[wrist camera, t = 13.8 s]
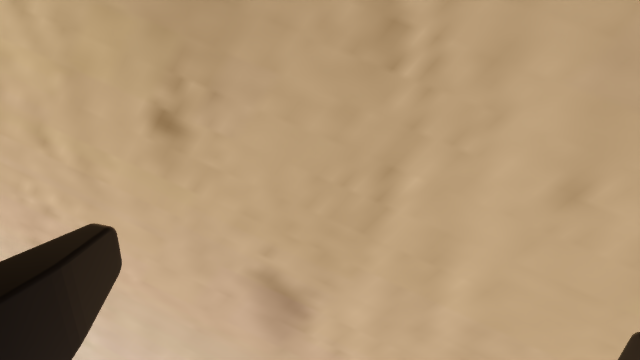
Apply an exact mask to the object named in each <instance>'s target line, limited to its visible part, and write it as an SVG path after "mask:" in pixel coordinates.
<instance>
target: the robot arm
mask: <svg viewBox="0 0 640 360" xmlns="http://www.w3.org/2000/svg"><path fill="white" fill-rule="evenodd" d="M121 266H122V259H121V254H120V248H119V243H118V237H117V233H116V231H115V229H114V228H112V227H110V226H106V225H101V224H89V225H86V226H84V227H82V228H79V229H77V230H75V231H72V232H70V233H67V234H65V235H63V236H60V237H58V238H56V239H53V240H51V241H48V242H46V243H44V244H41V245H39V246H37V247H34V248H32V249H29V250H27V251H25V252H22V253H20V254H17V255H15V256H13V257H10V258H8V259H6V260H3V261H1V262H0V360H72V358H73V357H74V355H75V354H76V352H77V351H78V349H79V347H80V346H81V344H82V343H83V341H84V339H85V337H86V335H87V334H88V332H89V330H90V328H91V326H92V324H93V322H94V321H95V319H96V317H97V315H98V313H99V311H100V309H101V307H102V305H103V304H104V302H105V300H106V298H107V296H108V294H109V292H110V290H111V288H112V286H113V285H114V283H115V281H116V279H117V277H118V275H119V273H120V270H121ZM618 360H640V332H637V333H635V334H633V335H632V337H631V338H630V340H629V341H628V343H627V345H626V347H625V348H624V350H623V352H622V353H621V355H620V357H619V359H618Z"/></svg>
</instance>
